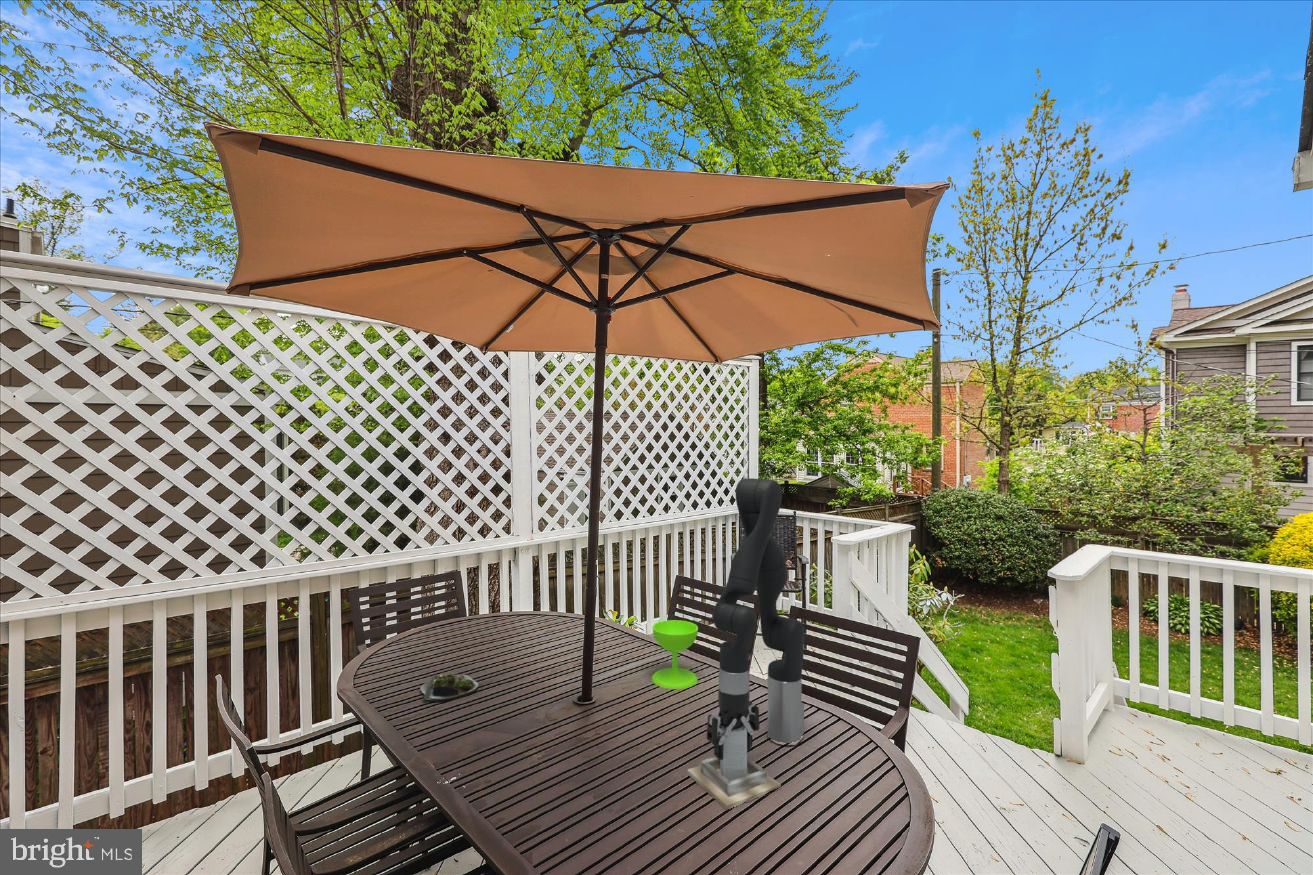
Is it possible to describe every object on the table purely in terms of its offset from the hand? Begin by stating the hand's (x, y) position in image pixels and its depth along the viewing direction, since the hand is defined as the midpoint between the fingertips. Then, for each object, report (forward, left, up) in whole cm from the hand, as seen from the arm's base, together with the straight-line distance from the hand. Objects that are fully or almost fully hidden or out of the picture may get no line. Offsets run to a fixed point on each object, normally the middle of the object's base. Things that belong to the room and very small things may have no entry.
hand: (733, 753), depth 135 cm
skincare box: (0, 0, -6) cm, 6 cm away
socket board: (0, 0, -7) cm, 7 cm away
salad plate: (+51, -85, -7) cm, 99 cm away
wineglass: (-19, -57, -7) cm, 60 cm away
